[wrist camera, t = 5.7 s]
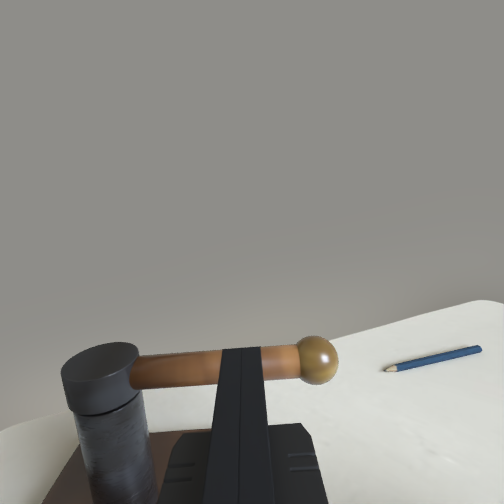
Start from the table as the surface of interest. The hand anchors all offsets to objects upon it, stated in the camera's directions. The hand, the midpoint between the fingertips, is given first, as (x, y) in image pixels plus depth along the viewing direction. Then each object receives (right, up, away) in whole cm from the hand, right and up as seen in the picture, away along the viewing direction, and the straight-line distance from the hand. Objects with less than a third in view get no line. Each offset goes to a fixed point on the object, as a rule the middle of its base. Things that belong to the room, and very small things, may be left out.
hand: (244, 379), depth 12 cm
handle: (-3, -4, +10) cm, 11 cm away
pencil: (+24, -10, +29) cm, 39 cm away
